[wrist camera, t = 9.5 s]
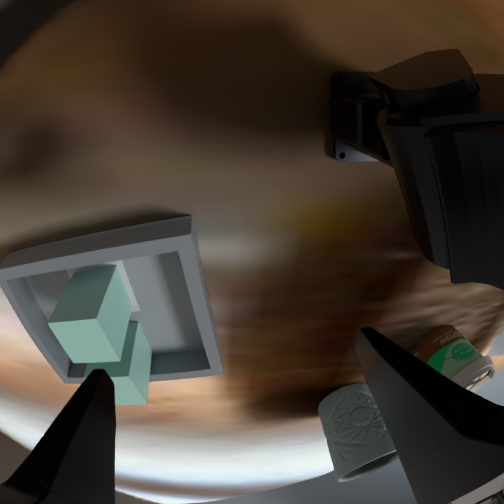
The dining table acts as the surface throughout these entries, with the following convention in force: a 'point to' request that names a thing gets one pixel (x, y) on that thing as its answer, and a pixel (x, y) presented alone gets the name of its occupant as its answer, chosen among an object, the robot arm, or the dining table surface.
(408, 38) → the dining table surface
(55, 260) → the tray
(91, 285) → the block
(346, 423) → the grey green cylinder
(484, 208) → the robot arm
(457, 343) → the food container
